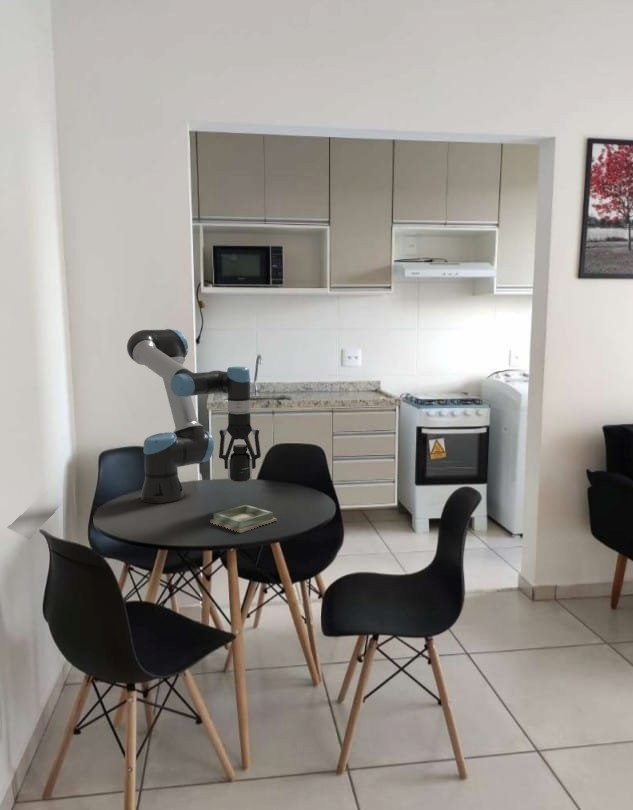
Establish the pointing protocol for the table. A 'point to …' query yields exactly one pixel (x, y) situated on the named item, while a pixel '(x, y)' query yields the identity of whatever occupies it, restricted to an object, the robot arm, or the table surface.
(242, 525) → the green square tray
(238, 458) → the supplement bottle
